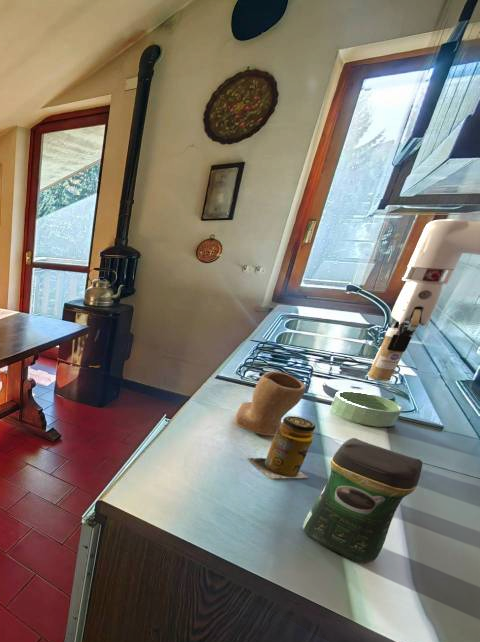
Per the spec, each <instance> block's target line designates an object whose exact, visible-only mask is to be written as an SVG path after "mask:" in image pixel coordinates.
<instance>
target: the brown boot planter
mask: <svg viewBox="0 0 480 642" xmlns="http://www.w3.org/2000/svg"><path fill="white" fill-rule="evenodd" d="M306 390H307V387H306V385H305V384H304V383H303V381H301V380H300V379H298V378H297V377H295V376H292V375H291V374H288V373H285V372H281V371H267V372H265V373H264V374H262V375H261V377H260V378H259V379H258V381H257V383H256V386H255V387H254V389H253V392H252V398H251V399H252V400H251V401H244V402H242V403H241V404H240V406H239V407H238V409H237V411H236V413H235V416H234V424H235V425H236V426H238V427H239V428H241V429H243V430H245V431H248V432H252V433H254V434H258V435H261V436H268V437H272V436H273V437H274V436H275V434H276V431H277V429H278V428H279V427H280V426H281V424H282V420H283V418H284V416H285V415H286V414H287V413H288V412H290V411H291V410H292V409H294V408H295V406H297V405H298V403H299V402H301V400H302V398H303V396H304V395H305V394H306Z"/></svg>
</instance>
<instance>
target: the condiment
mask: <svg viewBox="0 0 480 642" xmlns="http://www.w3.org/2000/svg"><path fill="white" fill-rule="evenodd" d="M315 429H316V424H315V423H314V422H312V421H311V420H309V419H306V418H304V417H300V416H296V415H295V416H292V415H288V416H287V415H286V416H285V417H283V418H282V421H281V426H280V427H279V428H278V429H277V431H276V434H275V435H273V439H272V442H271V444H270V447H269V449H268V453H267V455H266V457H258V458H257V457H247V458H246V459H247V460H248V461H249V462H250V464H252V465H253V466H254V467H256V468H257V469H258V470H259V471H260V472H262V473H263V474H264V475H265V476H267V477H268V478H269V479H271V480H272V479H309V476H308V475H306V474H305V473H303V472H301V471H300V470H301V468H302V466H303V464H304V461H305V459H306V456H307V454H308V452H309V449H310V447H311V445H312V443H313V440H314V437H313V434H314V431H315Z"/></svg>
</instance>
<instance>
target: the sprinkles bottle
mask: <svg viewBox="0 0 480 642" xmlns="http://www.w3.org/2000/svg"><path fill="white" fill-rule="evenodd" d="M397 329H398V328H389V327H388V328H387V330H386V332H385V335H386V336H385V335H384V338H385V339H384V338H383V340H384V341H383V340H382V342H383V343H382V342H381V344H380V346H379V349H378V351H377V353H376V355H375V357H374V360H373V361H372V364H371V367H370V369H369V371H368V373H367V377H368V378H370V379H372V380H375V381H376V380H377V381H381V382H389V381H391V380H392V376H393V374H394V372H395V370H396V369H397V367H398V365H399V362H400V360H401V358H402V356H403V353H404V352H399V351H392V350H388V349H387V347H388V345H389V343H390V341H391V338H392V336H393V334H395V335H396V331H397Z"/></svg>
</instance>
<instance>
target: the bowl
mask: <svg viewBox="0 0 480 642" xmlns="http://www.w3.org/2000/svg"><path fill="white" fill-rule="evenodd" d="M329 408H330V410H331V411H332V412H333V414H336V415H337V416H338V417H340V418H342V419H345V420H347V421H349V422H351V423H356V424H360V425H364V426H369V427H374V428H375V427H376V428H377V427H378V428H384V427H392V426H395V424H396V423H397V421H398V419H399V417H400V415H401V413H402V411H403V409H404V408H403V407H402V405H400V404H399V403H397V402H396V401H393V400H391V399H389V398H386V397H383V396H379V395H377V394H372V393H368V392H363V391H357V390H339V391H337V392H336V393H335V395H334V397H333V399H332V402H331V404H330V405H329Z"/></svg>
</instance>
